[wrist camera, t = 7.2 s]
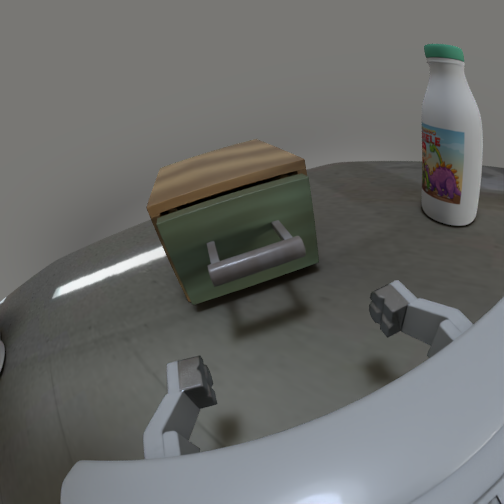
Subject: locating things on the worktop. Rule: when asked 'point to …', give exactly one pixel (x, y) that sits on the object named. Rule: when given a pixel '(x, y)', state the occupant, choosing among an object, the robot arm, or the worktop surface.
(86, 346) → the worktop surface
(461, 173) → the milk bottle
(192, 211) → the drawer
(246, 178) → the cabinet
